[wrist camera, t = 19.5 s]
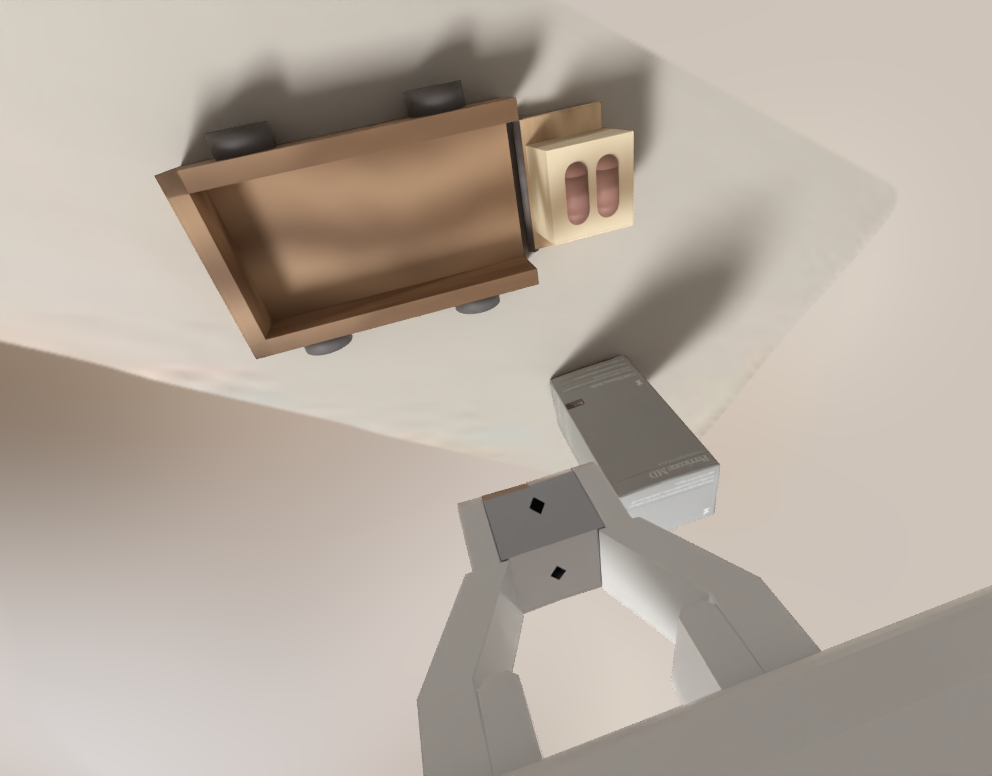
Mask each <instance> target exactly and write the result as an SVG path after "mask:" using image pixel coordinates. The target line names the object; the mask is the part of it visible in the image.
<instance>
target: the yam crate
mask: <svg viewBox="0 0 992 776" xmlns="http://www.w3.org/2000/svg"><path fill="white" fill-rule="evenodd" d="M526 154H527V163H528V172H529V180H530V189H531V198H532V206H533V215H534V224H535V231H536V232H537V233H538V234H540V235H541V236H543V237H544V238H545V239H547V240H548V241H550V242H551V243H552V244H554V245H559V244H562V243H566V242H570V241H574V240H578V239H582V238H586V237H590V236H593V235H597V234H601V233H605V232H609V231H613V230H617V229H621V228H625V227H628V226H632V225H633V168H634V131H629V130H620V129H611V128H601V129H597V130H592V131H588V132H583V133H579V134H575V135H570V136H566V137H561V138H557V139H553V140H548V141H544V142H539V143H535V144H531V145H526Z"/></svg>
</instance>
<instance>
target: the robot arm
mask: <svg viewBox="0 0 992 776" xmlns="http://www.w3.org/2000/svg"><path fill="white" fill-rule="evenodd" d="M458 512H459V517H460V520H461V525H462V529H463V534H464V538H465V542H466V546H467V551H468V555H469V559H470V563H471V567H472V572H470V573H468V574H465V577H464V579H463V582H462V584H461V587H460V589H459V592H458V595H457V597H456V600H455V602H454V605H453V608H452V610H451V613H450V616H449V618H448V621H447V623H446V626H445V628H444V631H443V634H442V636H441V639H440V642H439V644H438V647H437V649H436V652H435V654H434V657H433V660H432V662H431V665H430V667H429V670H428V673H427V675H426V678H425V681H424V683H423V686H422V688H421V691H420V693H419V696H418V699H417V707H418V718H419V730H420V741H421V752H422V764H423V775H424V776H992V586H989V587H986V588H984V589H981V590H979V591H976V592H974V593H971V594H968V595H966V596H963V597H961V598H958V599H956V600H953V601H950V602H948V603H945V604H943V605H940V606H937V607H935V608H932V609H930V610H927V611H925V612H922V613H919V614H917V615H914V616H912V617H909V618H906V619H904V620H901V621H899V622H896V623H893V624H891V625H888V626H886V627H883V628H881V629H878V630H875V631H873V632H870V633H868V634H865V635H862V636H860V637H857V638H855V639H852V640H849V641H847V642H844V643H842V644H839V645H837V646H834V647H831V648H829V649H826V650H824V651H821V650H820V649H819V648H818V646H817V645H816V644H815V643H814V642H813V640H812V639H811V638H810V637H809V635H808V634H807V633H806V632H805V631H804V629H803V628H802V627H801V626H800V625H799V624H798V622H797V621H796V620H795V619H794V617H793V616H792V615H791V614H790V613H789V612H788V610H787V609H786V608H785V607H784V606H783V604H782V603H781V602H780V601H779V600H778V598H777V597H776V596H775V595H774V593H773V592H772V591H771V590H770V589H769V588H768V586H767V585H766V584H765V583H764V582H763V580H762V579H761V578H760V577H758V576H756V575H754V574H752V573H750V572H748V571H746V570H744V569H742V568H740V567H738V566H736V565H734V564H732V563H730V562H728V561H726V560H724V559H722V558H720V557H718V556H716V555H715V554H713V553H711V552H709V551H706V550H705V549H703V548H700V547H699V546H697V545H695V544H693V543H690V542H689V541H687V540H685V539H683V538H681V537H679V536H677V535H674V534H673V533H671V532H669V531H667V530H665V529H663V528H661V527H659V526H657V525H655V524H653V523H651V522H649V521H647V520H645V519H643V518H641V517H636V518H632V517H631V516H630V514H629V513H628V511H627V510H626V508H625V507H624V505H623V504H622V502H621V500H620V499H619V497H618V496H617V494H616V493H615V491H614V490H613V488H612V487H611V485H610V484H609V482H608V481H607V479H606V478H605V476H604V475H603V473H602V471H601V470H600V468H599V467H598V465H597V464H596V463H594V462H593V461H592V462H589V463H586V464H583V465H580V466H577V467H574V468H571V469H567V470H564V471H561V472H558V473H555V474H552V475H549V476H546V477H542V478H540V479H536V480H533V481H530V482H527V483H526V484H522V485H519V486H516V487H512V488H509V489H505V490H502V491H498V492H495V493H491V494H488V495H484V496H482V499H481V497H479V498H475V499H472V500H468V501H465V502H462V503H458ZM599 587H602V589H603V590H605V591H606V592H607V593H608V594H610V595H611V596H612V597H614V598H615V599H616V600H618V601H619V602H620V603H622V604H623V605H624V606H625V607H627V608H628V609H629V610H631V611H632V612H633V613H635V614H636V615H637V616H638V617H640V618H641V619H643V620H644V621H645V622H646V623H648V624H649V625H650V626H652V627H653V628H654V629H655V630H657V631H658V632H659V633H661V634H662V635H663V636H665V637H666V638H667V639H669V640H670V641H671V642H672V643H674V644H675V652H674V661H673V669H672V677H671V685H672V687H673V689H674V691H675V693H676V695H677V697H678V698H679V701H680V703H681V704H682V705H681V706H679V707H676V708H674V709H671V710H669V711H666V712H663V713H661V714H658V715H655V716H653V717H650V718H648V719H645V720H643V721H640V722H638V723H635V724H632V725H630V726H627V727H624V728H622V729H619V730H617V731H614V732H611V733H609V734H606V735H604V736H601V737H599V738H596V739H593V740H591V741H588V742H586V743H583V744H581V745H578V746H575V747H573V748H570V749H568V750H565V751H562V752H560V753H557V754H555V755H552V756H549V757H547V758H543V755H542V751H541V748H540V745H539V741H538V737H537V734H536V731H535V728H534V724H533V721H532V718H531V714H530V711H529V708H528V705H527V701H526V698H525V695H524V692H523V688H522V685H521V682H520V678H519V676H518V675H517V674H515V673H512V672H513V667H514V662H515V657H516V652H517V648H518V642H519V638H520V633H521V628H522V623H523V618H524V616H523V614H525V613H527V612H530V611H532V610H535V609H537V608H540V607H543V606H546V605H548V604H551V603H554V602H556V601H559V600H561V599H565V598H568V597H571V596H574V595H577V594H580V593H584V592H587V591H590V590H593V589H596V588H599Z"/></svg>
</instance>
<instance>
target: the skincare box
mask: <svg viewBox="0 0 992 776" xmlns="http://www.w3.org/2000/svg"><path fill="white" fill-rule="evenodd" d="M550 386H551V391H552V396H553V401H554V406H555V412H556V417H557V422H558V426H559V428H560V430H561V432H562V433H563V435H564V437H565V439H566V441H567V443H568V445H569V447H570V449H571V451H572V452H573V454H574V456H575V458H576V460H577V462H578V464H579V466H580V465H583V464H586V463H589V462H592V461H593V462H594V463H596V464H597V465H598V467H599V468H600V470H601V471H602V473H603V475H604V476H605V478H606V479H607V481H608V482H609V484H610V485H611V487H612V488H613V490H614V491H615V493H616V494H617V496H618V497H619V499H620V500H621V502H622V504H623V505H624V507H625V508H626V510H627V511H628V513H629V514H630V516H631V517H632V518H636V517H641V518H643V519H645V520H647V521H649V522H651V523H653V524H655V525H657V526H659V527H661V528H663V529H665V530H667V531H669V532H671V531H673V530H675V529H676V528H678V527H679V526H682V525H684V524H687V523H690V522H693V521H696V520H699V519H702V518H705V517H708V516H711V515H713V514H714V512H715V502H716V492H717V486H718V480H719V471H720V464H719V463H718V462H717V460H716V459H715V458H714V457H713V456H712V455H711V454H710V452H709V451H708V450H707V449H706V448H705V447H704V445H702V443H701V442H700V441H699V440H698V438H697V437H696V436H695V435H694V434H693V433H692V432H691V430H690V429H689V428H688V427H687V426H686V425H685V423H684V422H683V421H682V420H681V419H680V418H679V417H678V416H677V414H676V413H675V412H674V411H673V410H672V409H671V407H670V406H669V405H668V404H667V403H666V402H665V401H664V399H663V398H662V397H661V396H660V395H659V394H658V393H657V391H656V390H655V389H654V388H653V387H652V386H651V385H650V383H649V382H648V381H647V380H646V379H645V378H644V376H643V375H642V374H641V373H640V372H639V371H638V369H637V368H636V367H635V366H634V365H633V364H632V363H631V362H630V360H629V359H628V358H627V357H626V356H623V355H620V356H617V357H615V358H613V359H610V360H607V361H604V362H600V363H597V364H594V365H591V366H588V367H585V368H582V369H579V370H576V371H573V372H570V373H567V374H565V375H562V376H559V377H557V378H554V379H552V380H550Z"/></svg>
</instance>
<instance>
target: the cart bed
mask: <svg viewBox="0 0 992 776" xmlns="http://www.w3.org/2000/svg"><path fill="white" fill-rule="evenodd" d="M404 95H405V99H406V103H407V107H408V111H409V115H410V117H406V118H401V119H397V120H392V121H387V122H383V123H378V124H373V125H369V126H364V127H360V128H355V129H350V130H346V131H341V132H336V133H332V134H327V135H322V136H318V137H313V138H308V139H304V140H299V141H295V142H290V143H285V144H281V145H276V143H275V140H274V138H273V135H272V133H271V130H270V128H269V125H268V123H267V121H263V122H258V123H253V124H248V125H243V126H239V127H234V128H229V129H224V130H220V131H215V132H210V133H206V134H203V135H204V137H205V139H206V141H207V143H208V145H209V147H210V149H211V152H212V154H213V156H214V158H215V159H211V160H206V161H202V162H197V163H192V164H188V165H183V166H179V167H177V168H174V169H171V170H169V171H166V172H163V173H161V174H158V175H155V178H156V179H157V181H158V183H159V185H160V187H161V188H162V190H163V192H164V194H165V196H166V197H167V199H168V201H169V203H170V205H171V207H172V208H173V210H174V212H175V214H176V216H177V217H178V219H179V221H180V223H181V225H182V226H183V228H184V230H185V232H186V234H187V235H188V237H189V239H190V241H191V243H192V244H193V246H194V248H195V250H196V252H197V253H198V255H199V257H200V259H201V261H202V262H203V264H204V266H205V268H206V270H207V271H208V273H209V275H210V277H211V279H212V280H213V282H214V284H215V286H216V288H217V289H218V291H219V293H220V295H221V297H222V298H223V300H224V302H225V304H226V306H227V307H228V309H229V311H230V313H231V315H232V316H233V318H234V320H235V322H236V324H237V326H238V327H239V329H240V331H241V333H242V335H243V336H244V338H245V340H246V342H247V344H248V345H249V347H250V349H251V351H252V353H253V354H254V356H255V358H256V359H259V358H263V357H267V356H270V355H274V354H278V353H282V352H285V351H289V350H293V349H297V348H300V347H305V350H306V352H307V353H308V354H310V355H316V356H317V355H325V354H329V353H332V352H335V351H337V350H339V349H341V348H343V347H345V346H346V345H347V344H349V343H350V341H351V340H352V334H353V333H357V332H361V331H364V330H368V329H372V328H376V327H379V326H383V325H387V324H391V323H394V322H398V321H402V320H406V319H409V318H413V317H417V316H421V315H424V314H428V313H432V312H436V311H439V310H443V309H447V308H451V307H454V306H455V307H456V310H457V311H458V312H460V313H464V314H476V313H481V312H485V311H488V310H490V309H492V308H494V307H495V306H497V305H498V303H499V302H500V298H499V295H500V294H503V293H507V292H511V291H515V290H518V289H522V288H526V287H530V286H533V285H537V284H539V281H538V273H537V268H536V267H535V266H534V265H533V264H531V263H530V262H529V261H528V260H527V259H526V258H525V257H524V252H523V244H522V237H521V230H520V223H519V215H518V208H517V201H516V193H515V186H514V179H513V171H512V164H511V157H510V150H509V142H508V135H507V128H506V123H509V122H513V121H518V120H519V118H518V109H517V101H516V98H494V99H489V100H485V101H480V102H476V103H471V104H466V105H465V102H464V97H463V91H462V85H461V80H459V81H454V82H449V83H445V84H440V85H435V86H430V87H425V88H421V89H416V90H411V91H406V92H404Z"/></svg>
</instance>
